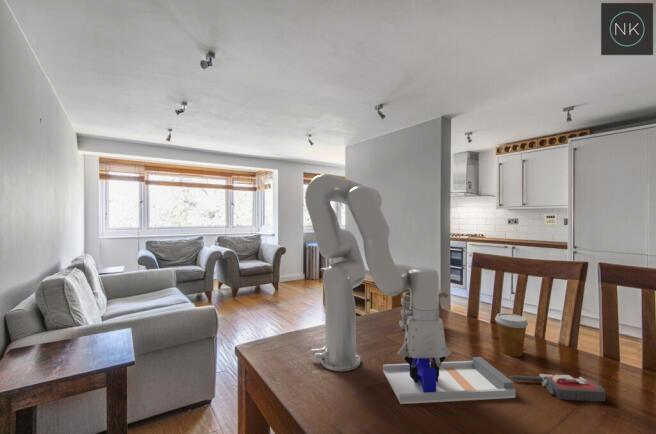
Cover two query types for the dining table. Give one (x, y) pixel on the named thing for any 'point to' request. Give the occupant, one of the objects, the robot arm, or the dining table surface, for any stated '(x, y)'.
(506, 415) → the dining table surface
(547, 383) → the walkie-talkie
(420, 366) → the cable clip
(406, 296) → the tankard
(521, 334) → the disposable coffee cup
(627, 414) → the dining table surface
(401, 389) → the channel
